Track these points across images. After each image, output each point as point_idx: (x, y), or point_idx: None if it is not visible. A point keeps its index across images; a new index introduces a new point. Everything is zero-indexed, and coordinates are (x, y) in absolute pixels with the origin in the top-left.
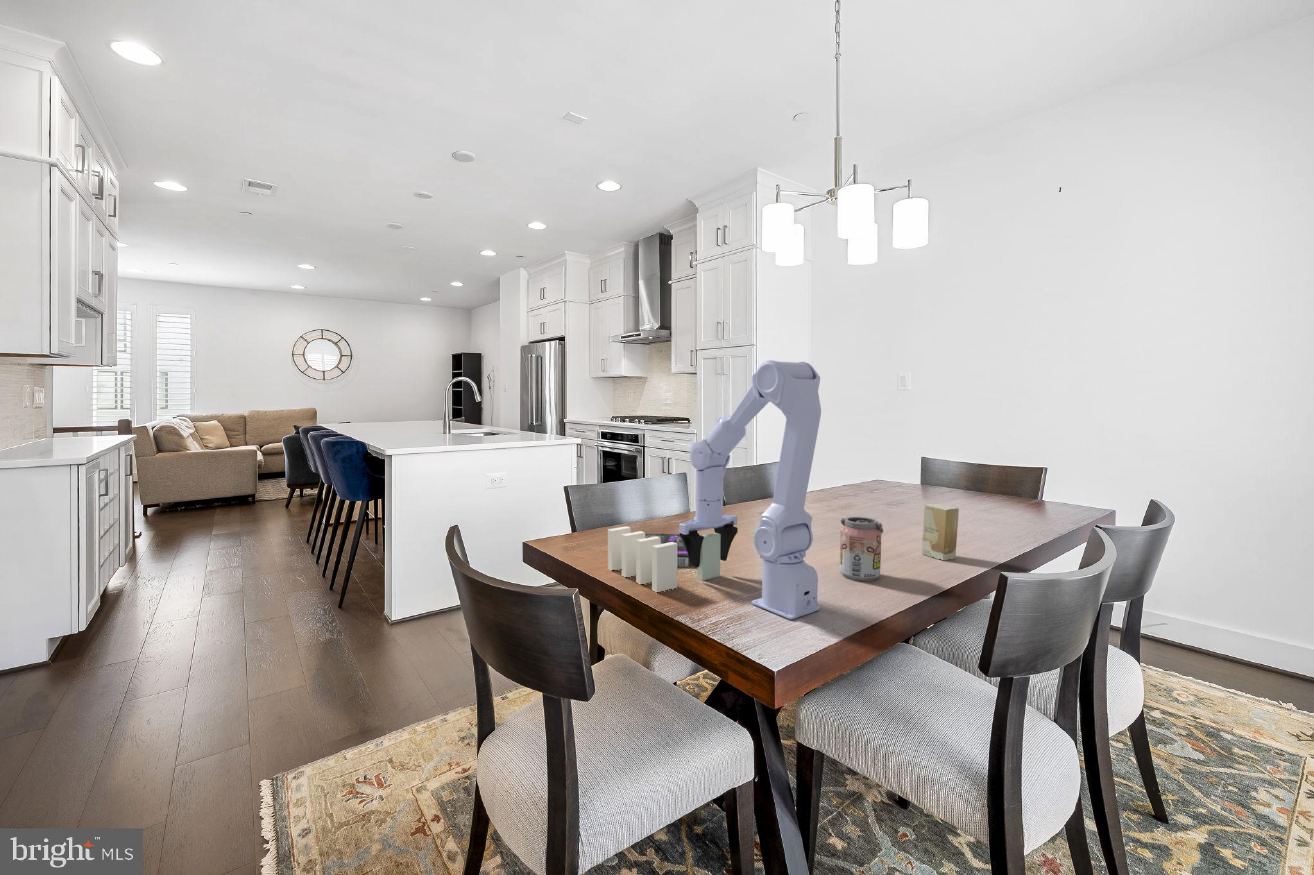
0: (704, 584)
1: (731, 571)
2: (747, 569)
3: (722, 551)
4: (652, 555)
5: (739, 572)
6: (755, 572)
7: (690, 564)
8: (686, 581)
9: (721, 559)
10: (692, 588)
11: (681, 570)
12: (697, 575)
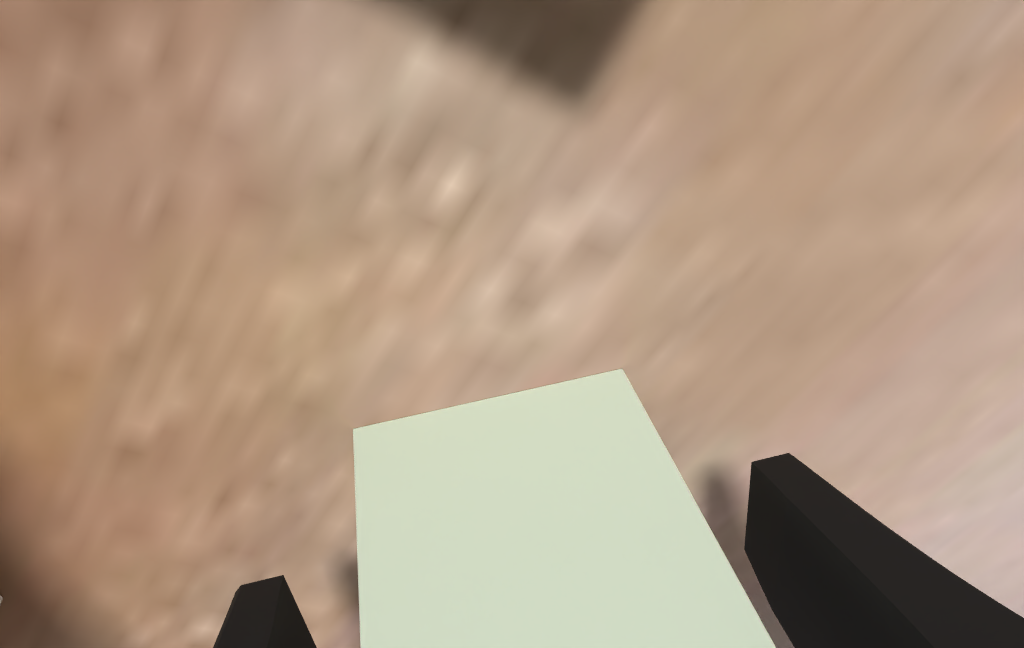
0: (338, 574)
1: (823, 355)
2: (987, 356)
3: (814, 622)
4: None
5: (855, 403)
6: (957, 445)
7: (234, 597)
8: (186, 469)
9: (752, 516)
10: (172, 627)
11: (298, 71)
12: (356, 456)
